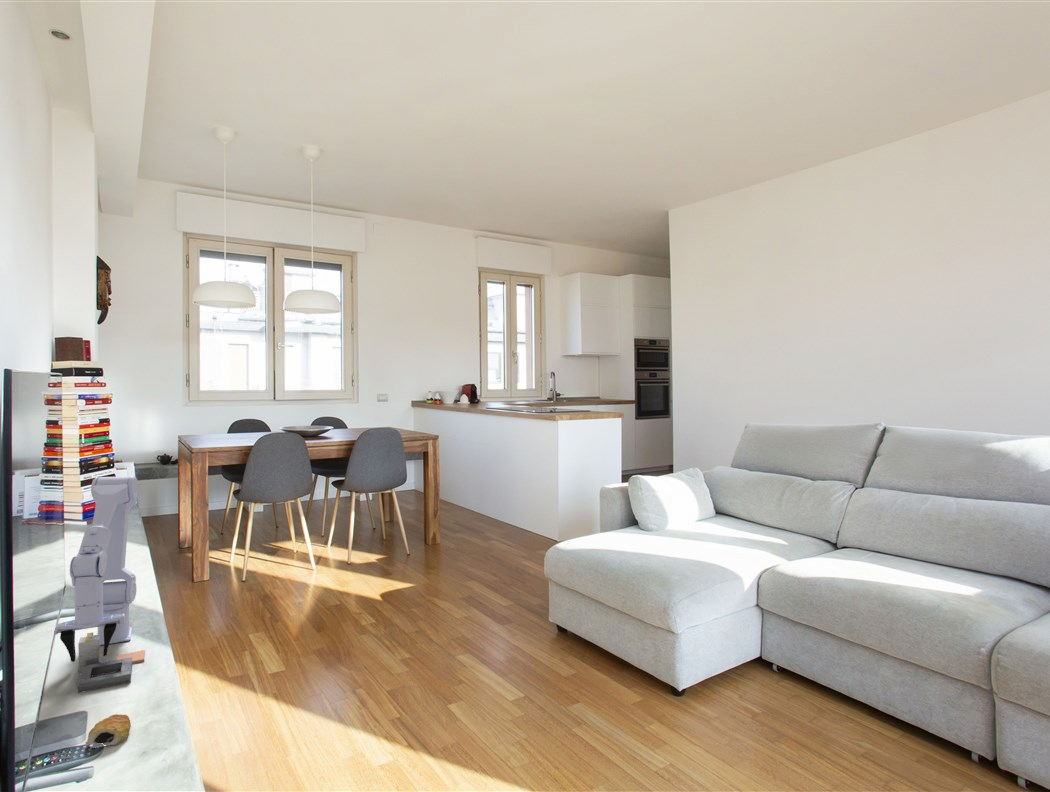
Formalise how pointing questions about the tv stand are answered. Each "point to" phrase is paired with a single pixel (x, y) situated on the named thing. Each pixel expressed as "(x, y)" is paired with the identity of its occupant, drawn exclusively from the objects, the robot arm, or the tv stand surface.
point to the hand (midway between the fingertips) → (89, 657)
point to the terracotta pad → (133, 656)
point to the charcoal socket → (107, 680)
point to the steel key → (89, 650)
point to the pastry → (110, 730)
